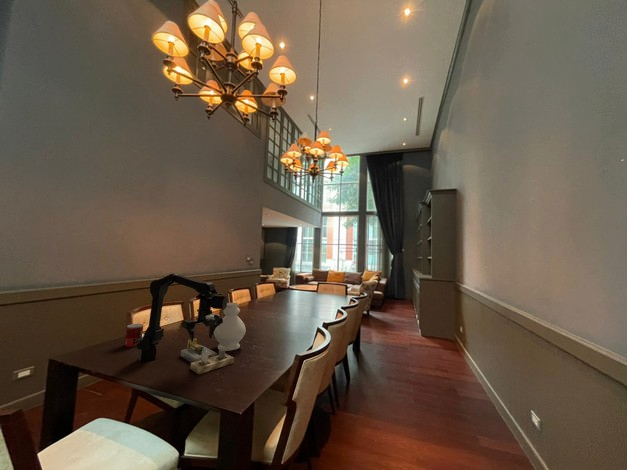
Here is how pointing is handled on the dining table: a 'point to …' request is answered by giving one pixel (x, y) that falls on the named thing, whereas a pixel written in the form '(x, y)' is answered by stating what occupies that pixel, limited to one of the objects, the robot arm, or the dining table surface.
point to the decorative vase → (230, 329)
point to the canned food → (133, 335)
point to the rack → (212, 363)
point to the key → (194, 344)
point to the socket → (196, 354)
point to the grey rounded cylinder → (204, 357)
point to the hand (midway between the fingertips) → (201, 339)
